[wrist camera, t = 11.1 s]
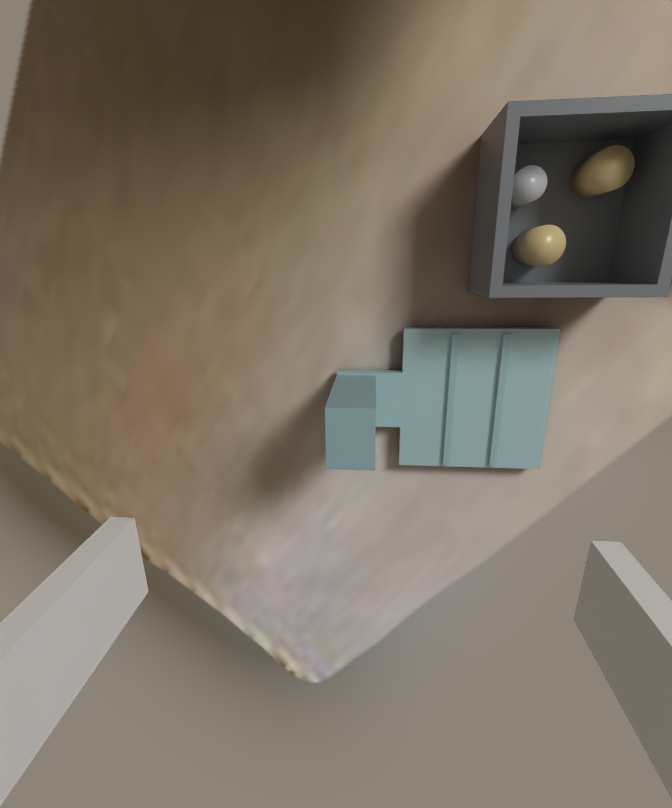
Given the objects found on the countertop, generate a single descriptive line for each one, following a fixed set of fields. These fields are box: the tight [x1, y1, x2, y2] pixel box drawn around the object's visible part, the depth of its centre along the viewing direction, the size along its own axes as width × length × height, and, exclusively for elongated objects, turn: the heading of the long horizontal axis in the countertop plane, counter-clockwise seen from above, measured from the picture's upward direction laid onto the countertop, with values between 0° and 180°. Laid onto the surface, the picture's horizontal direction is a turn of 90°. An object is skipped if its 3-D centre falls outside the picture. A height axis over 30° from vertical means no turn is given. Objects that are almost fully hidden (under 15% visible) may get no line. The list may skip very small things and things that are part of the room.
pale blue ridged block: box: [325, 328, 561, 470], centre depth 29 cm, size 11×16×9 cm
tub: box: [468, 94, 672, 298], centre depth 26 cm, size 10×10×6 cm
